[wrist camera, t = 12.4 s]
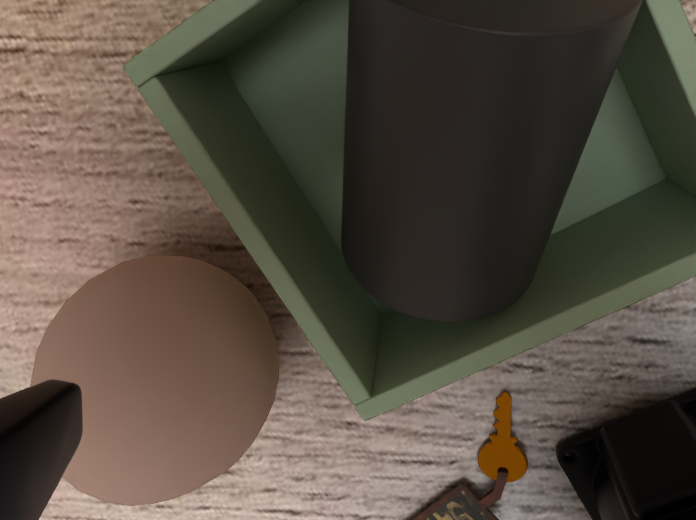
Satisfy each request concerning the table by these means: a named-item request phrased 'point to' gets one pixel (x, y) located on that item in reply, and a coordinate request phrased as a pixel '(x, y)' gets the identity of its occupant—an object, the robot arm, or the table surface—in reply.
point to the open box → (327, 188)
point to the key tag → (495, 462)
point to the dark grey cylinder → (466, 141)
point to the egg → (161, 376)
